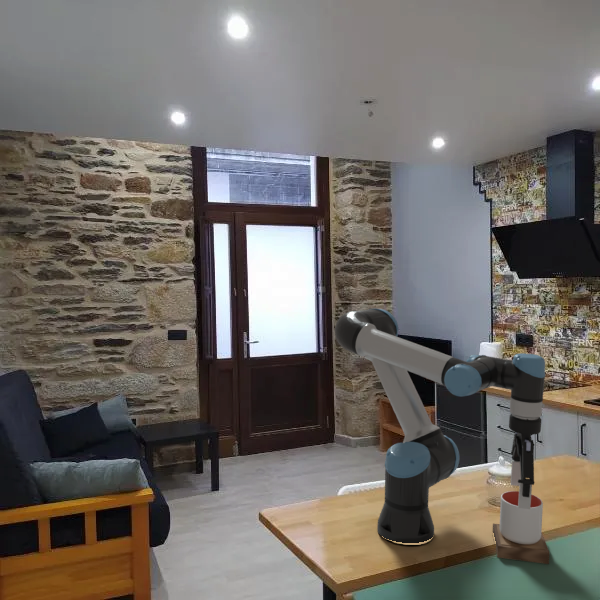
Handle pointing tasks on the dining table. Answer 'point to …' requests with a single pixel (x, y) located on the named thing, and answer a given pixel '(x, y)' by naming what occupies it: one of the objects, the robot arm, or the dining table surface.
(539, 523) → the cup
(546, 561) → the base
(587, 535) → the dining table surface
